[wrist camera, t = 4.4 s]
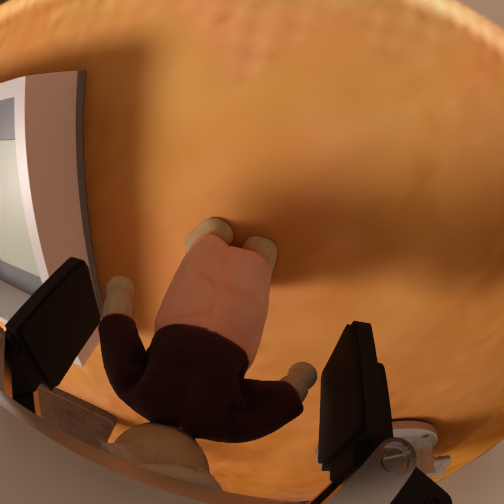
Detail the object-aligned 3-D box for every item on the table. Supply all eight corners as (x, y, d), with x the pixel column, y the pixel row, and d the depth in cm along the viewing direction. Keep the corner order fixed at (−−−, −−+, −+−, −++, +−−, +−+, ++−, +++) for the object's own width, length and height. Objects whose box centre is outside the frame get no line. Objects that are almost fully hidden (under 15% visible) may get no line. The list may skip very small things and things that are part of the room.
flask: (33, 375, 31) (-22, 465, 15) (110, 410, 29) (54, 528, 13) (44, 390, 32) (-6, 476, 17) (120, 424, 30) (70, 534, 15)
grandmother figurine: (167, 267, 16) (34, 484, 5) (171, 201, 14) (-31, 440, 3) (307, 305, 15) (278, 569, 4) (332, 243, 13) (334, 579, 2)
